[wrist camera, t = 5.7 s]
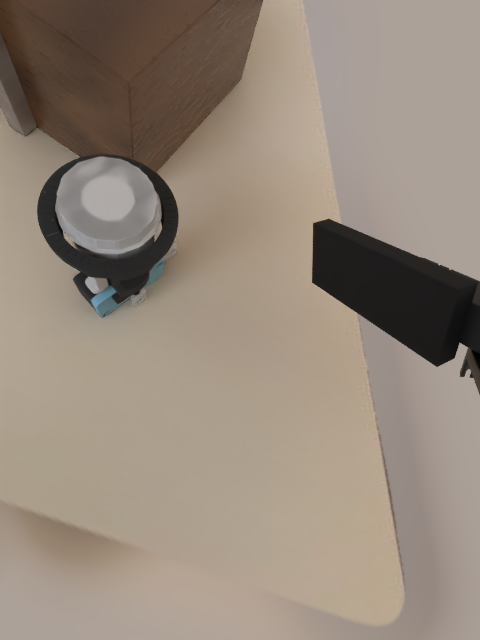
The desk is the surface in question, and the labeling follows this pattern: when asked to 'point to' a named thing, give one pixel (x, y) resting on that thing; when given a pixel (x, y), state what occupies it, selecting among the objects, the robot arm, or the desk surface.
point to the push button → (109, 226)
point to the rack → (120, 70)
